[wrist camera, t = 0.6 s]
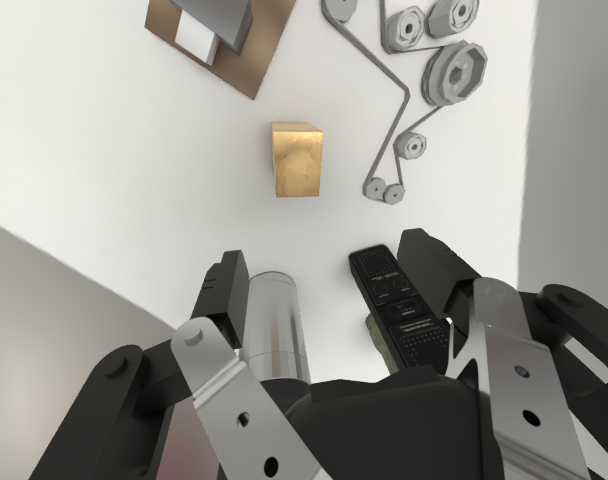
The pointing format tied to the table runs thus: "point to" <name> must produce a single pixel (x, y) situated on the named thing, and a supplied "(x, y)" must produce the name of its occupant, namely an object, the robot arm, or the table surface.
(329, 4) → the pulley system
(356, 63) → the table surface
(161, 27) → the shaft mount
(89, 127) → the table surface
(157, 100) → the table surface
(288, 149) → the tan rectangular block
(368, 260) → the portable radio
